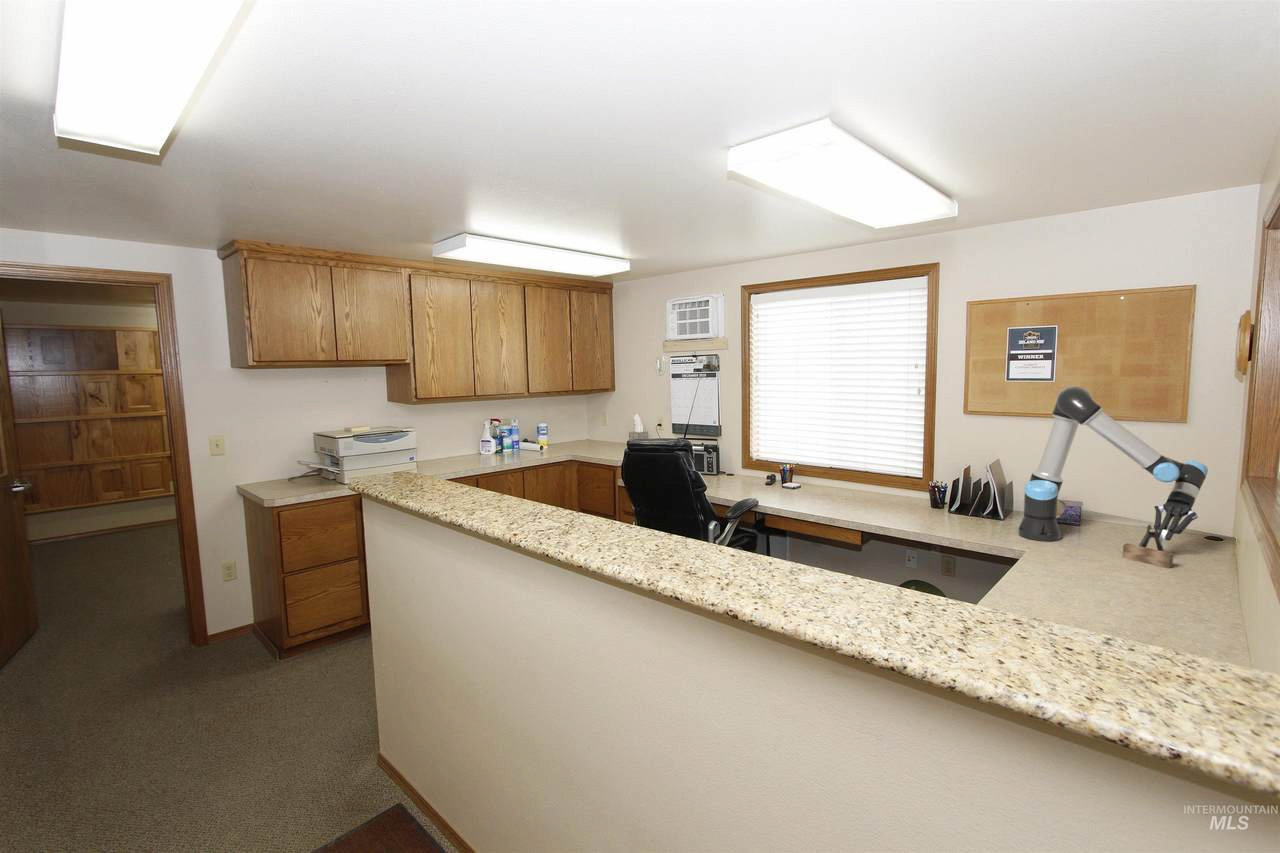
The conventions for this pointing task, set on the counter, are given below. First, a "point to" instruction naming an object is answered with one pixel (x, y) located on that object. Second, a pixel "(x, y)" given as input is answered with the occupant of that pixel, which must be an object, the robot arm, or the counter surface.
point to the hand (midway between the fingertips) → (1160, 545)
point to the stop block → (1148, 555)
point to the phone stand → (1151, 535)
